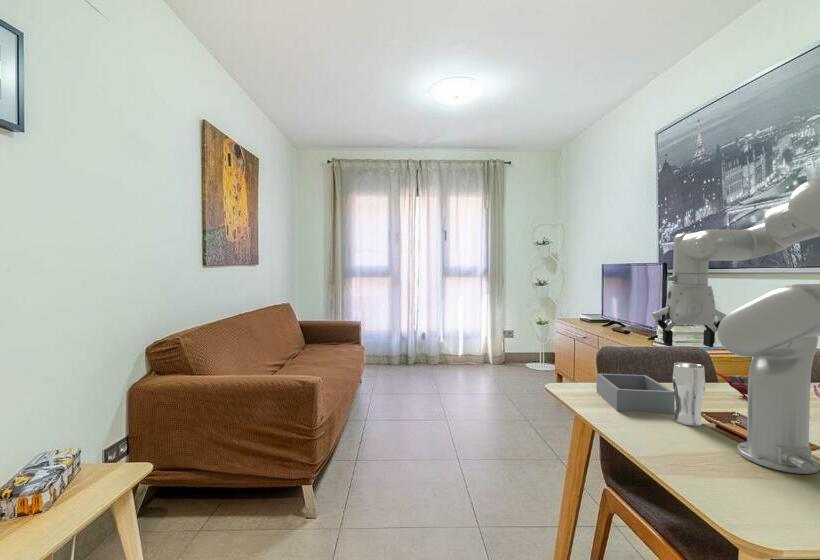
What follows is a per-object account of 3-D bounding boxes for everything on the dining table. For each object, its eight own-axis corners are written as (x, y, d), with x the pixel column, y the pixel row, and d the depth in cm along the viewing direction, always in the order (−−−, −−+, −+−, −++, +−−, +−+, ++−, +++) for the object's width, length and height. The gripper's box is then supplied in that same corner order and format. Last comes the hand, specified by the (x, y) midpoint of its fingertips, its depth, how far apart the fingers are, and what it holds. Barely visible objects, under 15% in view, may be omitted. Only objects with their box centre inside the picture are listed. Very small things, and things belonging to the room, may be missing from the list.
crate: (674, 413, 110) (674, 392, 110) (616, 410, 113) (616, 389, 112) (645, 393, 128) (646, 375, 128) (596, 391, 130) (596, 373, 130)
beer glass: (694, 417, 108) (695, 362, 107) (710, 427, 101) (711, 368, 100) (666, 416, 108) (667, 361, 108) (681, 426, 101) (682, 368, 101)
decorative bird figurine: (768, 407, 115) (769, 373, 115) (709, 389, 133) (709, 359, 132) (776, 406, 116) (776, 372, 116) (716, 389, 133) (716, 359, 133)
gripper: (660, 280, 101) (659, 347, 102) (736, 281, 99) (733, 349, 99) (647, 279, 109) (646, 341, 109) (717, 280, 106) (715, 343, 107)
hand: (687, 345), depth 104 cm, fingers open, 9 cm apart
